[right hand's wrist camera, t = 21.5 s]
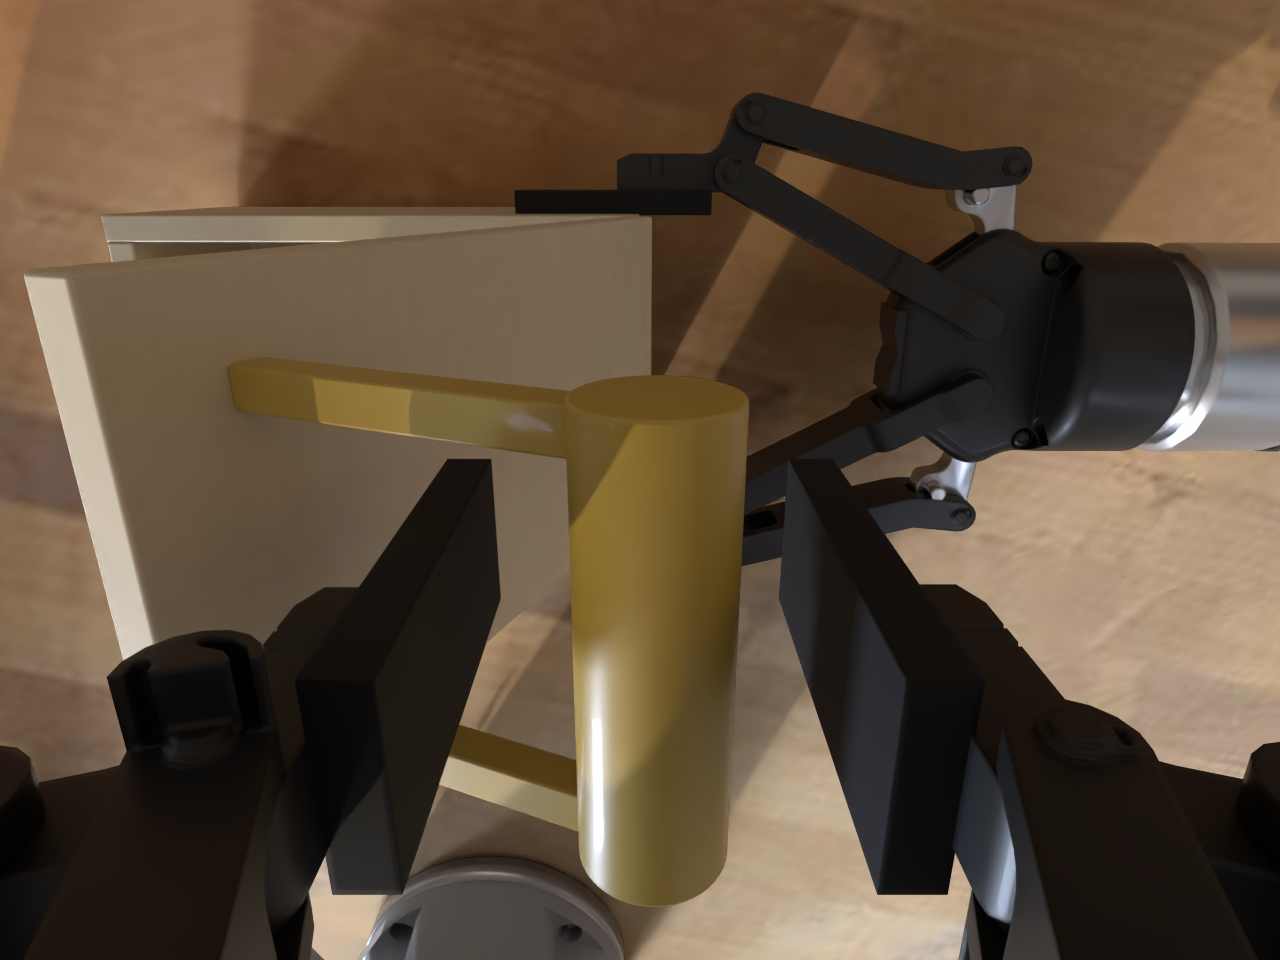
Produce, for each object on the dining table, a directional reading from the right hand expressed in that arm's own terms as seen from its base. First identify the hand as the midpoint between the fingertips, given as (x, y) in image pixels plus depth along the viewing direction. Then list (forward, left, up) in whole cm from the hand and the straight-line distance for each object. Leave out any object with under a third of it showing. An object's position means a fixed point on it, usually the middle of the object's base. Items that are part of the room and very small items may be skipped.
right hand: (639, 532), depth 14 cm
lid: (-2, +3, -5) cm, 7 cm away
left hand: (-2, +4, -17) cm, 17 cm away
